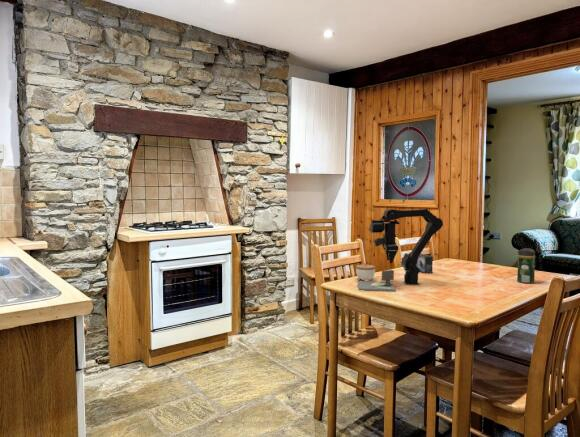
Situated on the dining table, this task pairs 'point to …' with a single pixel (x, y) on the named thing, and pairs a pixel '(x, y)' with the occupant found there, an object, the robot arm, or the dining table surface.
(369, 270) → the lidded jar
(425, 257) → the small box
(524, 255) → the coffee jar
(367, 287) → the tuner board
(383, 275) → the peg knob
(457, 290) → the dining table surface
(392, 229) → the robot arm
